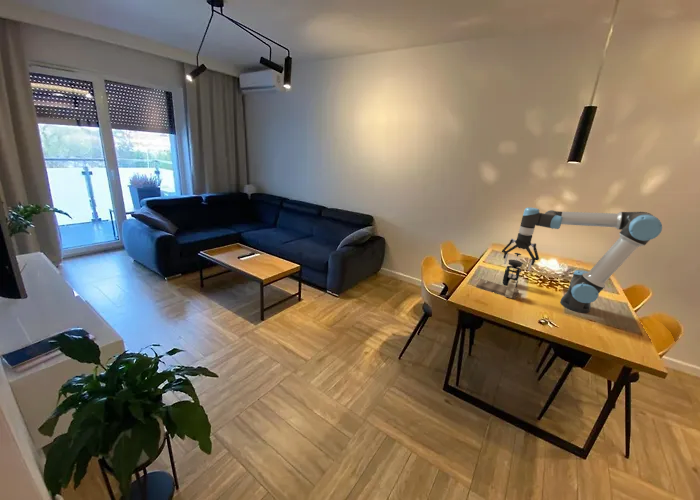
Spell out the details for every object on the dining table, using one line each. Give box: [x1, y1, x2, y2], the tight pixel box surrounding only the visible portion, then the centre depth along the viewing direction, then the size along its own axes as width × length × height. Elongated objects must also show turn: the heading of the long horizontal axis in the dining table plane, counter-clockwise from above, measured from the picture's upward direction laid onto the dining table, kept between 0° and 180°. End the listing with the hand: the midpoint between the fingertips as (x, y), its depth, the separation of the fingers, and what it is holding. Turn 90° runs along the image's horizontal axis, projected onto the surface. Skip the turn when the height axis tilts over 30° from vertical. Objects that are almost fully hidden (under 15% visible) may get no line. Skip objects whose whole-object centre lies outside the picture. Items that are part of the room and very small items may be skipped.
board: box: [475, 278, 520, 300], centre depth 202 cm, size 24×12×2 cm, turn 55°
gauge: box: [504, 279, 518, 299], centre depth 193 cm, size 4×8×10 cm, turn 145°
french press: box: [501, 252, 524, 288], centre depth 208 cm, size 12×9×23 cm
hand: (516, 266), depth 188 cm, fingers open, 13 cm apart
